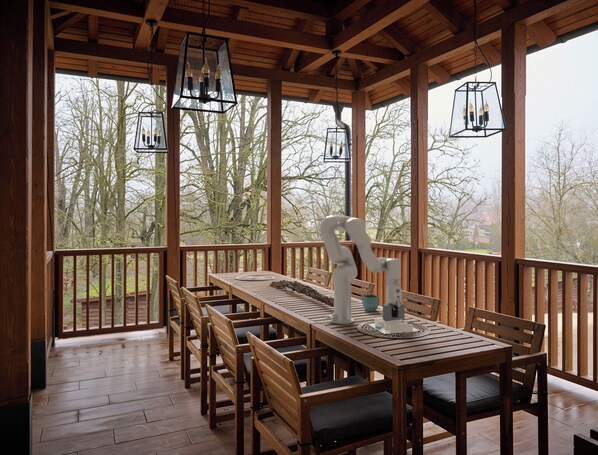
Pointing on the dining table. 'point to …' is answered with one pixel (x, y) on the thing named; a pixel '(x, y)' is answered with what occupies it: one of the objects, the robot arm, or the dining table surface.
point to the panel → (388, 312)
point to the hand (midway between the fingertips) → (393, 316)
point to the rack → (392, 326)
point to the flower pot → (370, 302)
